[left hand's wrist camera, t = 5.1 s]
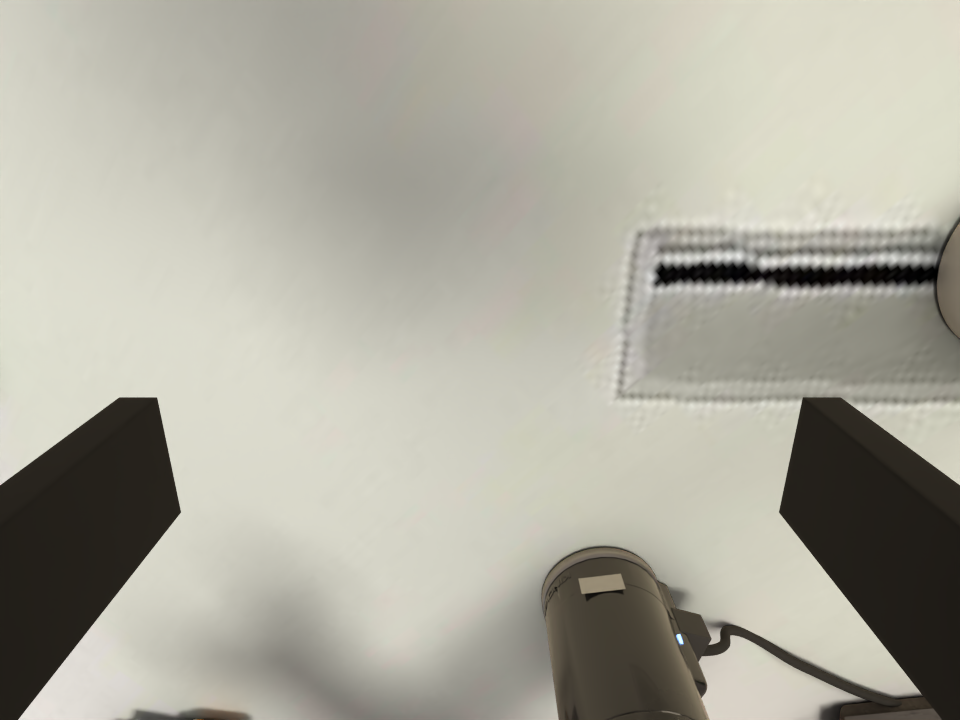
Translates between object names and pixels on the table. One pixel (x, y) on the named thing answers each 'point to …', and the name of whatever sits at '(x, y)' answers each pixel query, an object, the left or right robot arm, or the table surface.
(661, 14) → the table surface
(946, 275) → the bust sculpture
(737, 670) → the table surface
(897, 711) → the toy
